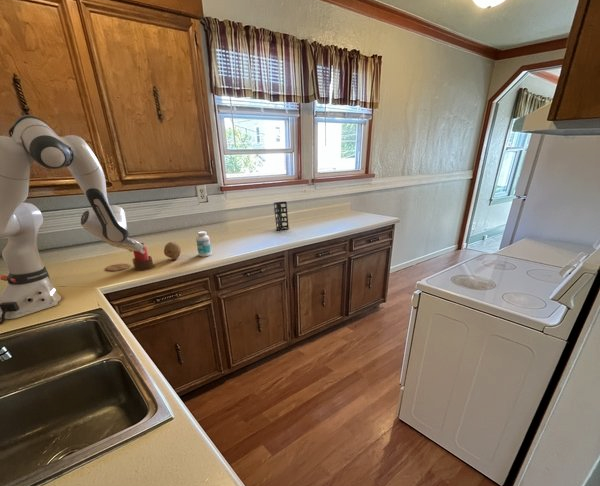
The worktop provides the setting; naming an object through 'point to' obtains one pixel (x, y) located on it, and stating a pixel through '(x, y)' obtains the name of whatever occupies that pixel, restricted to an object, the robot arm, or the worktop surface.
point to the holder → (279, 215)
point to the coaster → (117, 267)
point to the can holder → (143, 264)
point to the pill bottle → (203, 244)
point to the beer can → (141, 256)
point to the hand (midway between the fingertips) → (137, 251)
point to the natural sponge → (172, 250)
